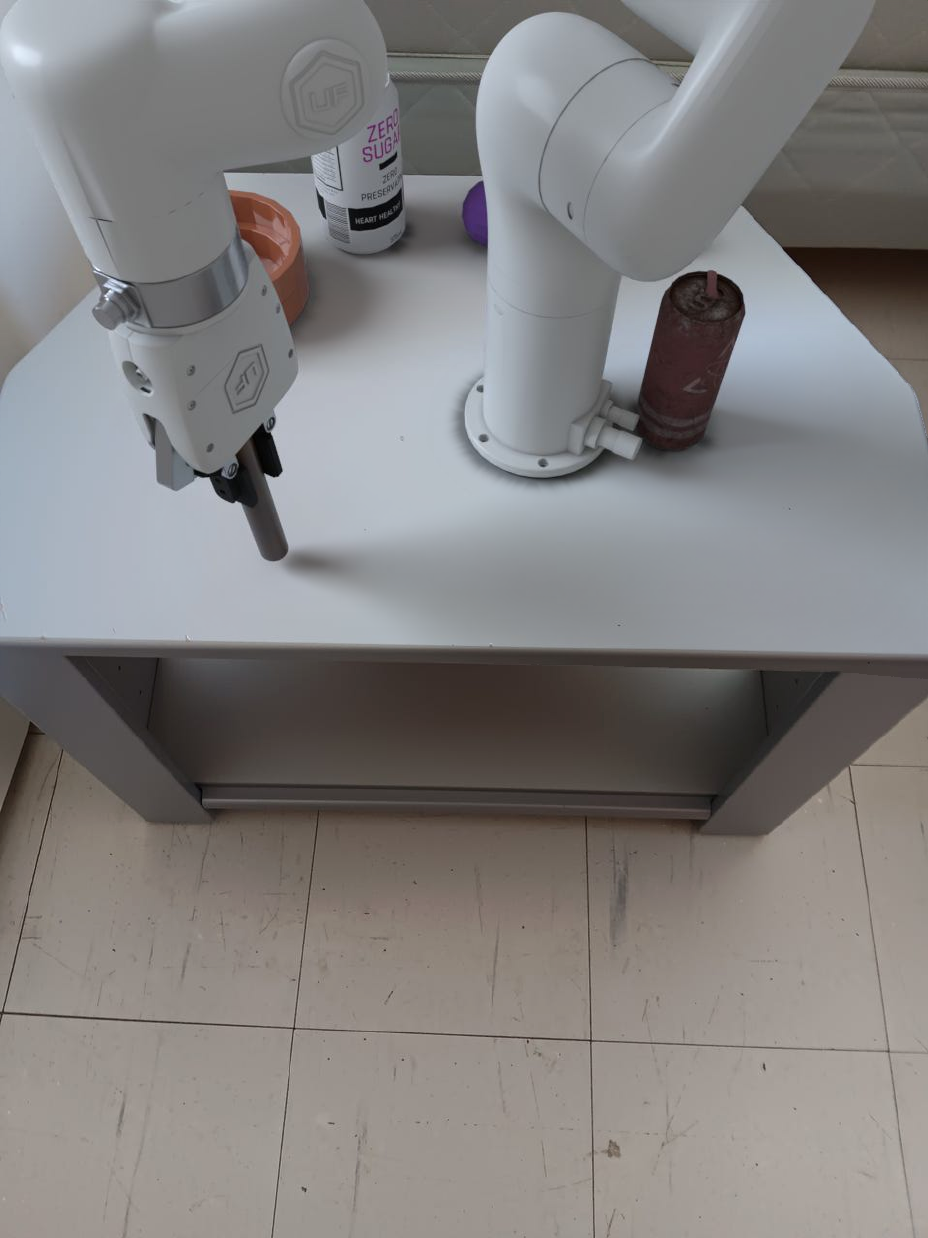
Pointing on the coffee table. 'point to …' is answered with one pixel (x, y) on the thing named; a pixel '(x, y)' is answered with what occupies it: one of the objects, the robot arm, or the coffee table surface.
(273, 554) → the stick
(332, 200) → the supplement can
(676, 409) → the can
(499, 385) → the robot arm
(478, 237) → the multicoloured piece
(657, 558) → the coffee table surface
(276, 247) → the bowl
